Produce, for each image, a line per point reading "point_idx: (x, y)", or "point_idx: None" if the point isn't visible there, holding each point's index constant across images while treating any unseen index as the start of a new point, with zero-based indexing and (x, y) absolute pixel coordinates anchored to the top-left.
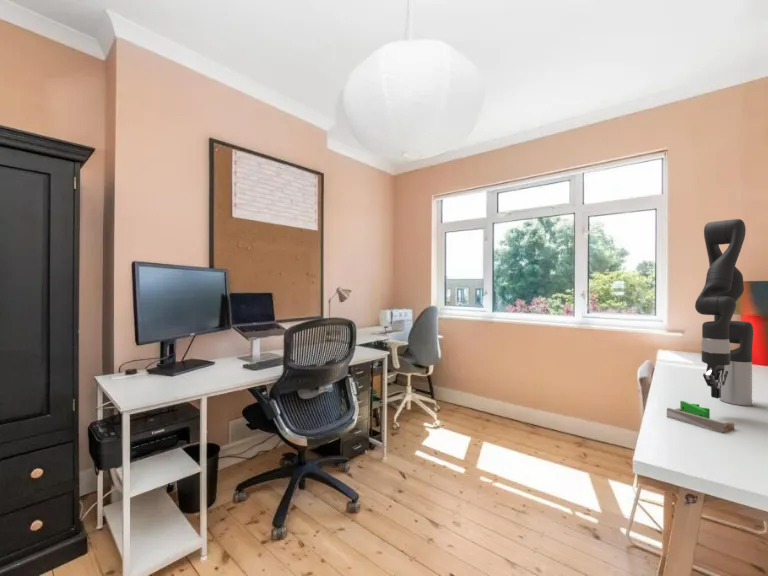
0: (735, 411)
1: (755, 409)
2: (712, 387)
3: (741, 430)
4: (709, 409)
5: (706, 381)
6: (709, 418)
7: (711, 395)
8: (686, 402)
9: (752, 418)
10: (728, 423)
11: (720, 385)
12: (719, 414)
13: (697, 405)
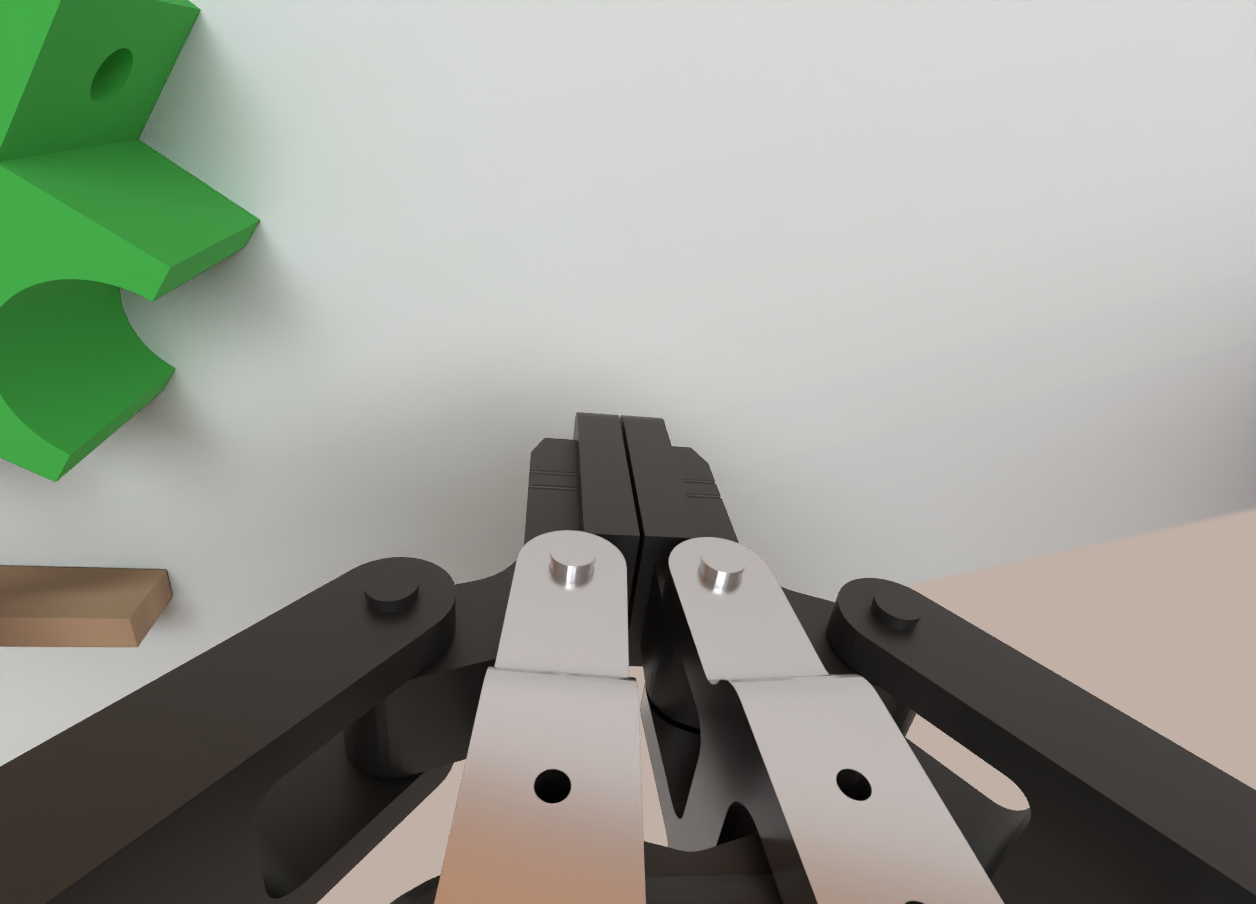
0: (976, 407)
1: (1224, 482)
2: (506, 587)
3: (208, 633)
4: (56, 478)
5: (124, 725)
6: (140, 408)
7: (578, 423)
8: (3, 78)
9: (799, 560)
10: (23, 633)
11: (650, 733)
12: (656, 354)
13: (111, 278)
